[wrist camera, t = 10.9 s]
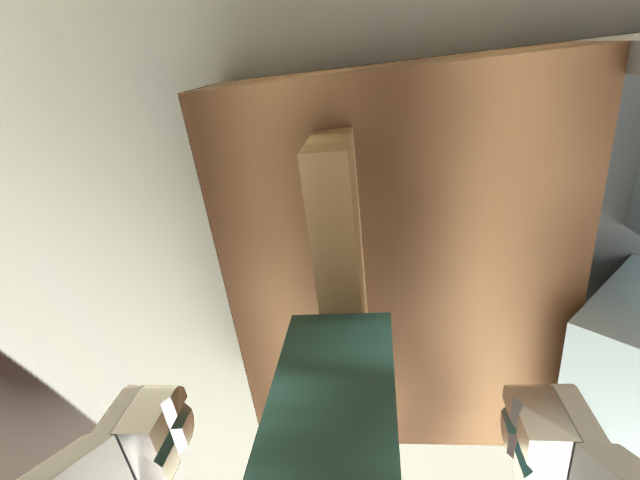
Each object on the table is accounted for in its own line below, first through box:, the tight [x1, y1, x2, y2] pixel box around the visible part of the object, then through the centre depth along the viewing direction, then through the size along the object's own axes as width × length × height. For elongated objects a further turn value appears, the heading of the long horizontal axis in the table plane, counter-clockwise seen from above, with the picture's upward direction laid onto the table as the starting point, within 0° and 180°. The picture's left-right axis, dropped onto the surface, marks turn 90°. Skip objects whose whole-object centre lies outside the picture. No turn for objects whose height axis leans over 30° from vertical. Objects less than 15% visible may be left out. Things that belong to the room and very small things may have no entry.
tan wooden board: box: [178, 41, 631, 446], centre depth 17 cm, size 12×15×4 cm
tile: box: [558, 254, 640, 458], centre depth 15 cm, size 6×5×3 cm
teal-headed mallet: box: [243, 127, 401, 480], centre depth 11 cm, size 3×12×8 cm, turn 6°
